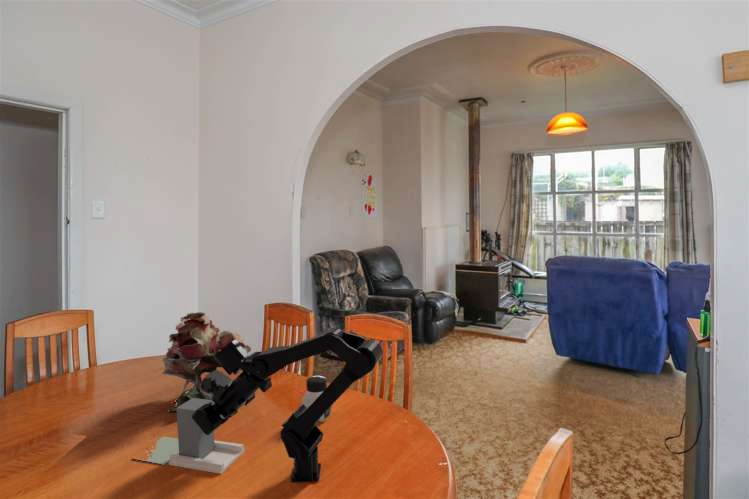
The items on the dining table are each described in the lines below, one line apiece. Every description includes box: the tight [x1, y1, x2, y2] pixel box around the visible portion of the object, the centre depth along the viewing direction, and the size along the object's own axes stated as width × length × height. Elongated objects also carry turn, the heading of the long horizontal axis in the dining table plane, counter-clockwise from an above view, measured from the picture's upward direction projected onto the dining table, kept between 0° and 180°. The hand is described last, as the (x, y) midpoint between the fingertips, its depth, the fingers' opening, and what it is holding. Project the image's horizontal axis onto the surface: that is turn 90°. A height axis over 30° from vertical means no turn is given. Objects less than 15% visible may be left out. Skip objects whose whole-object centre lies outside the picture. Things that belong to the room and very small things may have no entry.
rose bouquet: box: [161, 311, 252, 413], centre depth 141 cm, size 26×29×30 cm
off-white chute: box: [168, 439, 245, 475], centre depth 108 cm, size 15×10×2 cm, turn 74°
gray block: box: [176, 398, 215, 459], centre depth 108 cm, size 6×6×13 cm
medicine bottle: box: [301, 375, 333, 423], centre depth 129 cm, size 7×7×12 cm
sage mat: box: [135, 436, 179, 466], centre depth 112 cm, size 10×11×1 cm
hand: (206, 425), depth 107 cm, fingers closed, pressing on gray block
